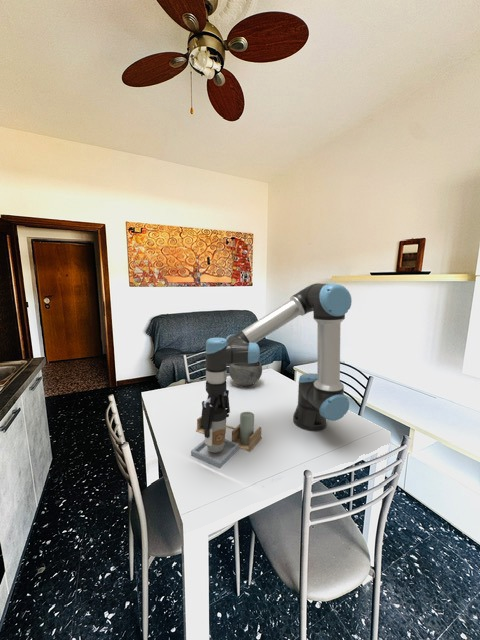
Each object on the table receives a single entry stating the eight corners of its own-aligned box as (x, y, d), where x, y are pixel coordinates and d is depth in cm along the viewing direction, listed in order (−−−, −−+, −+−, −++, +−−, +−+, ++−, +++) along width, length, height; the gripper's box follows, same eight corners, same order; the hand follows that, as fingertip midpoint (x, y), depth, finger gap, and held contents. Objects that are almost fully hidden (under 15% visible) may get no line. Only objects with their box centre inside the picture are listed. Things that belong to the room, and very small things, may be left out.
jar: (256, 440, 107) (256, 414, 106) (247, 446, 103) (248, 419, 102) (245, 435, 111) (245, 410, 109) (236, 441, 106) (237, 415, 105)
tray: (239, 450, 102) (239, 444, 102) (219, 470, 91) (219, 463, 91) (211, 439, 109) (211, 433, 108) (190, 457, 98) (190, 450, 97)
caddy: (261, 439, 109) (262, 426, 108) (249, 453, 100) (250, 439, 99) (210, 422, 122) (210, 409, 121) (195, 432, 113) (195, 419, 112)
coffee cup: (209, 457, 94) (209, 417, 92) (201, 444, 101) (201, 407, 99) (230, 450, 98) (230, 412, 96) (221, 438, 105) (221, 403, 103)
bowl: (225, 389, 160) (225, 365, 158) (232, 377, 180) (232, 355, 178) (260, 392, 156) (260, 368, 154) (262, 379, 177) (263, 358, 175)
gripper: (223, 370, 107) (223, 422, 110) (188, 388, 89) (189, 450, 92) (239, 374, 103) (238, 428, 106) (206, 393, 85) (206, 457, 88)
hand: (215, 438), depth 99 cm, fingers closed on coffee cup, 8 cm apart
